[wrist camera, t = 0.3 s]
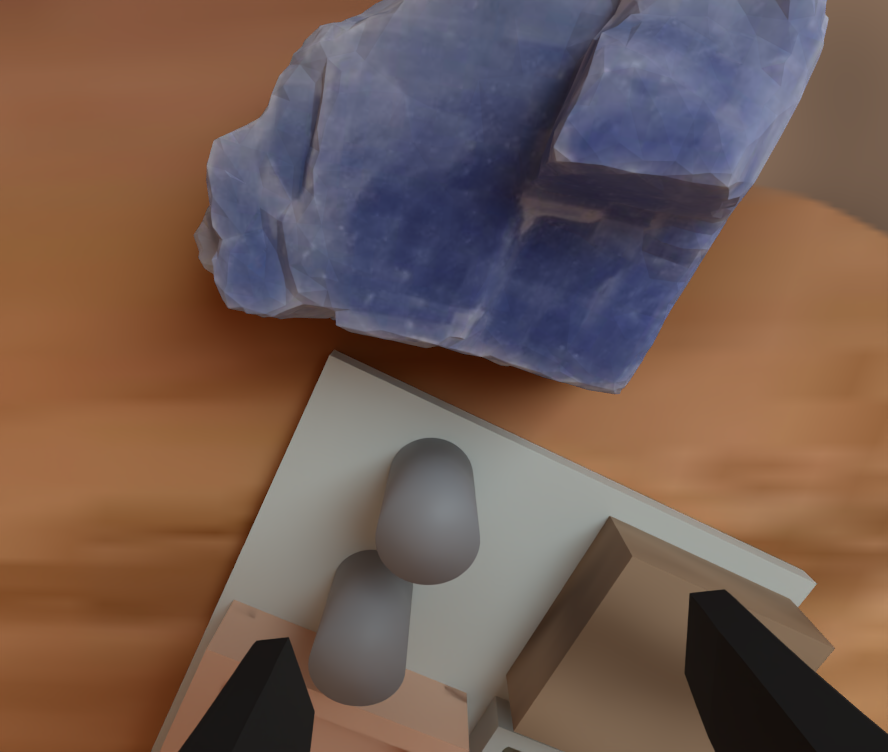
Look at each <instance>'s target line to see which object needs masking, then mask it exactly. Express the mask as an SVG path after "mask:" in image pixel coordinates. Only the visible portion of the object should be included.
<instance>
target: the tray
mask: <svg viewBox="0 0 888 752" xmlns="http://www.w3.org/2000/svg"><path fill="white" fill-rule="evenodd" d="M284 637H289V639H290V642H291V644H292V647H293V650H294V653H295V656H296V659H297V662H298V665H299V667H300V670H301V673H302V676H303V679H304V682H305V685H306V688H307V690H308V693H309V696H310V699H311V702H312V705H313V708H314V711H315V715H314V723H313V732H312V741H311V749H310V752H469V733H468V711H467V693H465V692H463V691H460V690H458V689H456V688H453V687H451V686H448V685H446V684H443V683H441V682H438V681H436V680H433V679H431V678H428V677H426V676H423V675H421V674H418V673H416V672H413V671H411V670H408V669H406V670H405V676H404V680H403V682H402V684H401V686H400V687H399V689H398V690H397V691H396V692H395V693H394V694H393V695H392V696H391V697H389V698H388V699H386V700H384V701H382V702H380V703H377V704H374V705H369V706H349V705H344V704H341V703H338V702H336V701H333V700H331V699H330V698H328V697H326V696H325V695H324V694H323V693H321V692H320V691H319V690H318V688H317V687H316V686H315V685H314V683H313V681H312V679H311V677H310V674H309V669H308V661H309V656H310V653H311V649H312V646H313V643H314V640H315V637H316V632H314V631H311V630H309V629H306V628H304V627H301V626H299V625H296V624H294V623H291V622H289V621H286V620H284V619H281V618H279V617H276V616H274V615H271V614H269V613H266V612H264V611H261V610H259V609H256V608H254V607H251V606H249V605H246V604H244V603H241V602H239V601H236V600H233V602H232V604H231V606H230V608H229V609H228V611H227V613H226V615H225V616H224V618H223V620H222V622H221V624H220V625H219V627H218V629H217V631H216V633H215V634H214V636H213V638H212V640H211V642H210V643H209V645H208V647H207V649H206V651H205V653H204V655H203V657H202V660H201V662H200V664H199V666H198V668H197V671H196V673H195V675H194V677H193V679H192V682H191V684H190V686H189V688H188V690H187V693H186V695H185V697H184V699H183V701H182V703H181V706H180V708H179V710H178V712H177V714H176V717H175V719H174V721H173V723H172V725H171V728H170V730H169V732H168V734H167V736H166V739H165V741H164V743H163V745H162V747H161V749H160V752H178V751H179V750H180V748H181V747H182V745H183V744H184V743H185V741H186V740H187V739H188V737H189V736H190V734H191V733H192V732H193V730H194V729H195V727H196V726H197V725H198V723H199V722H200V720H201V719H202V718H203V716H204V715H205V713H206V712H207V710H208V709H209V707H210V706H211V705H212V703H213V702H214V700H215V699H216V697H217V696H218V694H219V693H220V692H221V690H222V689H223V687H224V686H225V684H226V683H227V681H228V680H229V678H230V677H231V675H232V674H233V673H234V671H235V670H236V668H237V667H238V665H239V664H240V662H241V661H242V659H243V658H244V656H245V655H246V654H247V652H248V651H249V649H250V648H251V646H252V645H253V644H254V643H255V642H256V641H257V640H266V639H275V638H284Z"/></svg>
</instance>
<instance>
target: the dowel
mask: <svg viewBox="0 0 888 752" xmlns="http://www.w3.org/2000/svg"><path fill="white" fill-rule="evenodd" d="M502 752H521V751H519V750H516V749H513V748H511V747H507V748H505V749H503V751H502Z"/></svg>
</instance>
